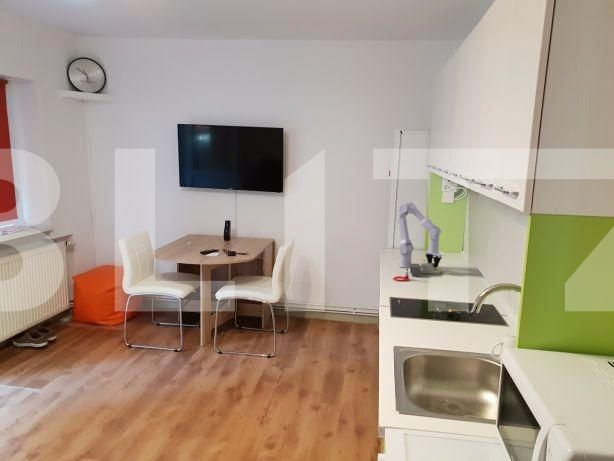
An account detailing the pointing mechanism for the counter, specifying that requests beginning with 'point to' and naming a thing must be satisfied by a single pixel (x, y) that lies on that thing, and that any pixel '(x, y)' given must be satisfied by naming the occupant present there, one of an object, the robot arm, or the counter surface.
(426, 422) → the counter surface
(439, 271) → the tray
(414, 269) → the bracket
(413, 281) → the counter surface
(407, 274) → the tow hook
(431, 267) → the pin
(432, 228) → the robot arm
